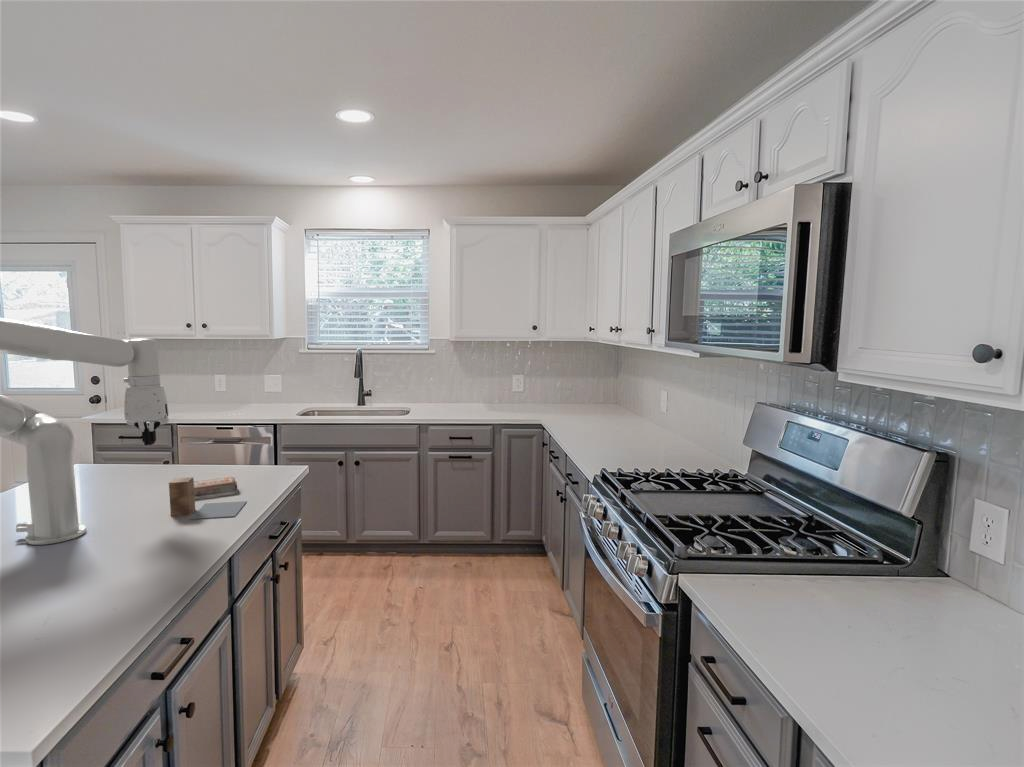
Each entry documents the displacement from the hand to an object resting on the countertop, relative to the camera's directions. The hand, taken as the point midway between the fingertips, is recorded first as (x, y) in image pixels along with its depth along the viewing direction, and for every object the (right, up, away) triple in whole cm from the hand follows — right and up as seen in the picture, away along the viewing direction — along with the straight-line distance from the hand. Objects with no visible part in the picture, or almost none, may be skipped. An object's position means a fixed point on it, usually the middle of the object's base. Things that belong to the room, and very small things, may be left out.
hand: (149, 444), depth 167 cm
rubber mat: (+17, -21, +6) cm, 28 cm away
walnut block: (+8, -21, +4) cm, 22 cm away
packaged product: (+5, -19, +22) cm, 30 cm away
